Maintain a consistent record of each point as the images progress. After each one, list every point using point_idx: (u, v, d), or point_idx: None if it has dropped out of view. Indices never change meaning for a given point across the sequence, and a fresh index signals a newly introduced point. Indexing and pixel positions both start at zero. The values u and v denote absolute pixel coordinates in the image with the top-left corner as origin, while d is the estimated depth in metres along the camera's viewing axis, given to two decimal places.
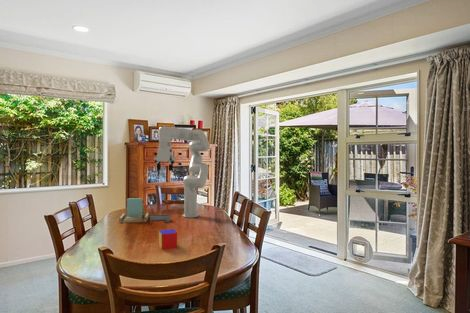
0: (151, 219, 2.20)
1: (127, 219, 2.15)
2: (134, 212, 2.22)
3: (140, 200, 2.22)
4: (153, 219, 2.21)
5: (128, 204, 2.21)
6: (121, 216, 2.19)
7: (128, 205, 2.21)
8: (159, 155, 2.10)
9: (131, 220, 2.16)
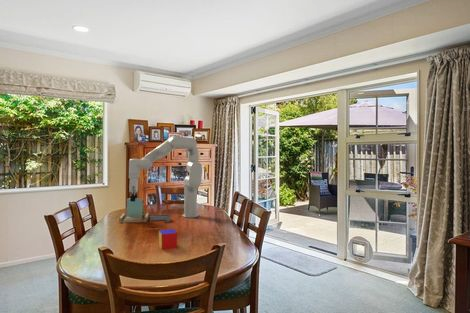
0: (151, 219, 2.20)
1: (127, 219, 2.15)
2: (134, 212, 2.22)
3: (140, 200, 2.22)
4: (153, 219, 2.21)
5: (128, 204, 2.21)
6: (121, 216, 2.19)
7: (128, 205, 2.21)
8: (137, 186, 2.20)
9: (131, 220, 2.16)
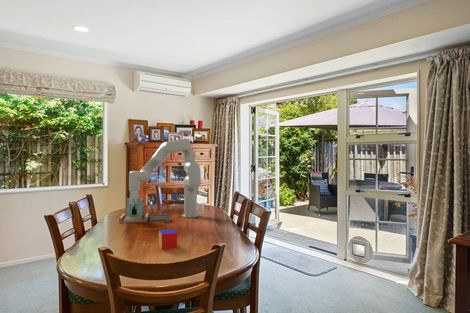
0: (151, 219, 2.20)
1: (127, 219, 2.15)
2: None
3: (140, 200, 2.22)
4: (153, 219, 2.21)
5: (128, 204, 2.21)
6: (121, 216, 2.19)
7: (128, 205, 2.21)
8: (137, 198, 2.21)
9: (131, 220, 2.16)
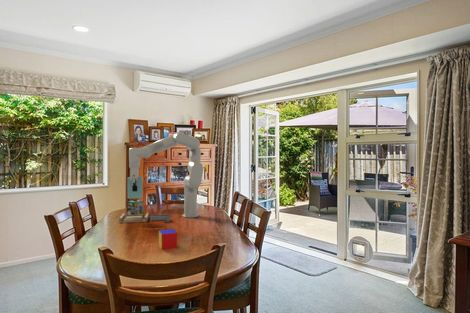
0: (151, 219, 2.20)
1: (127, 219, 2.15)
2: None
3: (140, 178, 2.22)
4: (153, 219, 2.21)
5: (128, 182, 2.21)
6: (121, 216, 2.19)
7: (128, 183, 2.21)
8: (137, 175, 2.20)
9: (131, 220, 2.16)
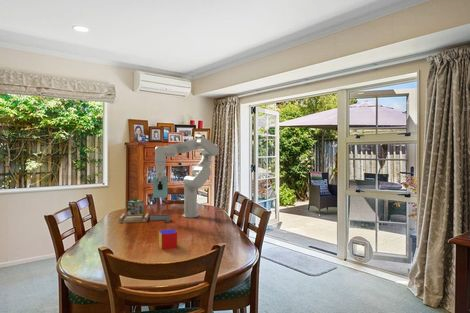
0: (151, 219, 2.20)
1: (127, 219, 2.15)
2: (160, 190, 2.23)
3: (166, 178, 2.23)
4: (153, 219, 2.21)
5: (154, 182, 2.22)
6: (121, 216, 2.19)
7: (154, 183, 2.22)
8: (163, 174, 2.21)
9: (131, 220, 2.16)
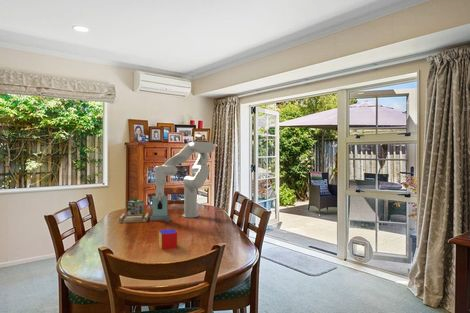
0: (151, 219, 2.20)
1: (127, 219, 2.15)
2: (160, 210, 2.23)
3: (166, 198, 2.24)
4: (153, 219, 2.21)
5: (154, 202, 2.22)
6: (121, 216, 2.19)
7: (154, 203, 2.22)
8: (163, 193, 2.22)
9: (131, 220, 2.16)
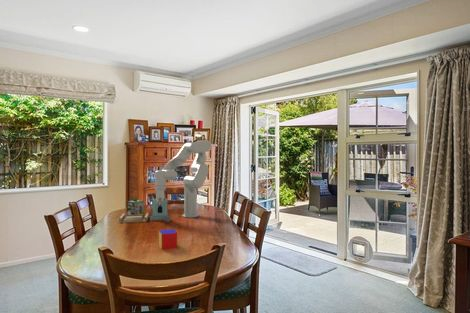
0: (151, 219, 2.20)
1: (127, 219, 2.15)
2: None
3: (165, 200, 2.24)
4: (153, 219, 2.21)
5: (154, 204, 2.22)
6: (121, 216, 2.19)
7: (154, 205, 2.22)
8: (163, 198, 2.22)
9: (131, 220, 2.16)
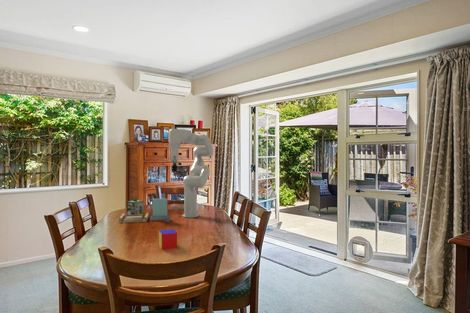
0: (151, 219, 2.20)
1: (127, 219, 2.15)
2: (160, 212, 2.23)
3: (165, 200, 2.24)
4: (153, 219, 2.21)
5: (154, 204, 2.22)
6: (121, 216, 2.19)
7: (154, 205, 2.22)
8: None
9: (131, 220, 2.16)
